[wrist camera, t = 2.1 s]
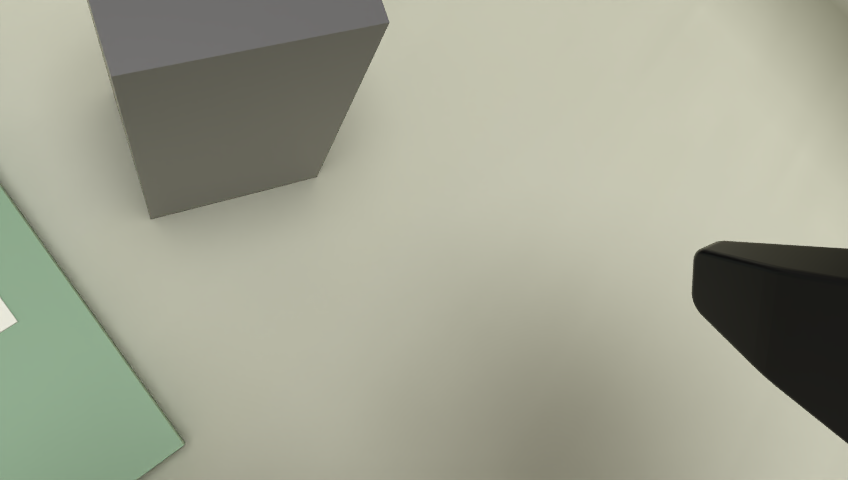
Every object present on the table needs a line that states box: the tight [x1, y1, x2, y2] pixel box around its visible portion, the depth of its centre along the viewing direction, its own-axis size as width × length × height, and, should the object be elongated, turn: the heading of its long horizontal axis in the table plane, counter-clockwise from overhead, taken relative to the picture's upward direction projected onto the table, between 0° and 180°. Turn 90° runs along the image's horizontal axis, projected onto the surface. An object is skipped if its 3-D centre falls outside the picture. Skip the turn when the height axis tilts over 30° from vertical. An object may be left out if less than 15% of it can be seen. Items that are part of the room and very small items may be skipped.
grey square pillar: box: [87, 0, 389, 219], centre depth 19 cm, size 4×5×10 cm
